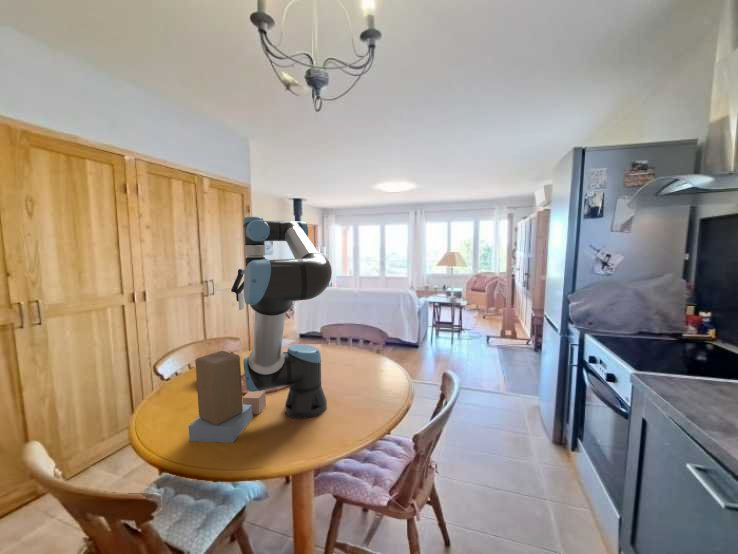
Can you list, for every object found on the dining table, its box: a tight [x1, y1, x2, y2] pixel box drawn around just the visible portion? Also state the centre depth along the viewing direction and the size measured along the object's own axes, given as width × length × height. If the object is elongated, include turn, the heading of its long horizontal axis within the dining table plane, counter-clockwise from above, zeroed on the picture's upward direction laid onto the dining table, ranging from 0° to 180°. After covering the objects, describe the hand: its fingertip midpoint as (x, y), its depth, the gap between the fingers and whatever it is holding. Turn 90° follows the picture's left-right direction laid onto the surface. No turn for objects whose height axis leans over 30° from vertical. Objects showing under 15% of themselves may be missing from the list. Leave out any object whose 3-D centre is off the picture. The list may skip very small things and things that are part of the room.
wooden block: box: [195, 350, 243, 425], centre depth 105 cm, size 10×10×20 cm
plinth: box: [188, 403, 254, 444], centre depth 106 cm, size 14×14×5 cm
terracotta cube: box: [242, 390, 267, 415], centre depth 119 cm, size 6×6×6 cm
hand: (257, 309), depth 130 cm, fingers open, 13 cm apart
